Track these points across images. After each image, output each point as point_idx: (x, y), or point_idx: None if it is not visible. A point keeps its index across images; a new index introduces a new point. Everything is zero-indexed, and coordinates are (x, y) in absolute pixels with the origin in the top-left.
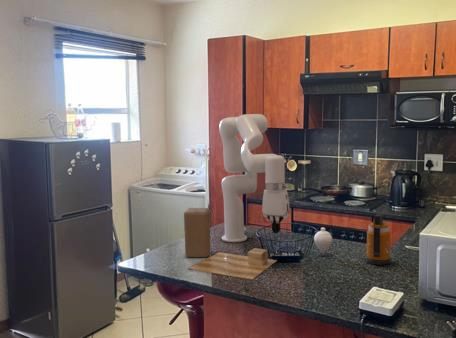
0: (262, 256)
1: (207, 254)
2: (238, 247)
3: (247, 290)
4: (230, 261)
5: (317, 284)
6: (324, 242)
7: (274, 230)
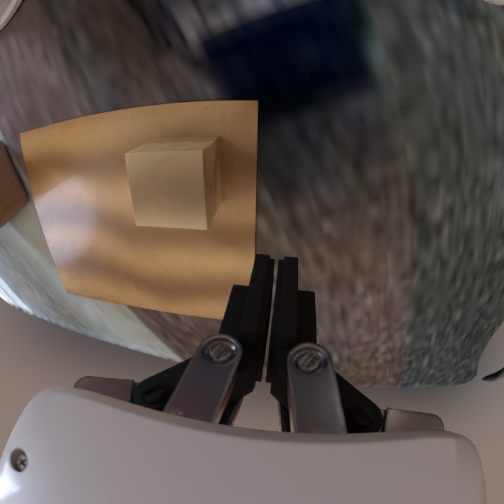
0: (211, 210)
1: (22, 201)
2: (36, 41)
3: None
4: (94, 202)
5: (446, 295)
6: (499, 4)
7: (268, 326)
